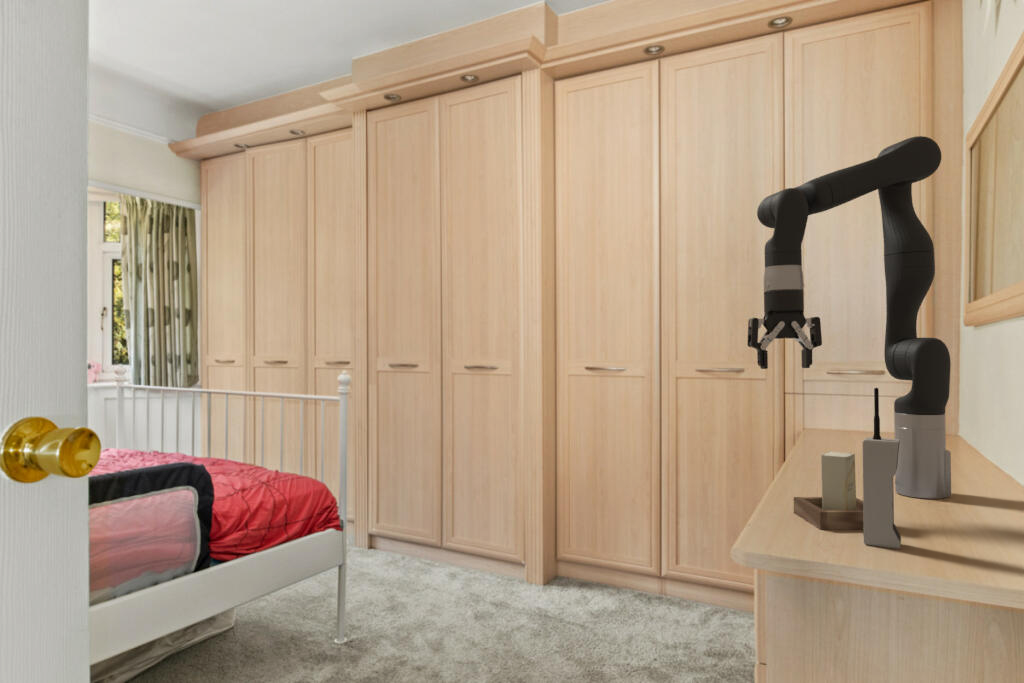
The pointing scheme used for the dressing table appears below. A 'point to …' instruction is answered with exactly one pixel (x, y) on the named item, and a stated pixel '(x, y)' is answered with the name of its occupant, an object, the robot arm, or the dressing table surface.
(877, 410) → the vintage mobile phone
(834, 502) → the skincare box
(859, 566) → the dressing table surface
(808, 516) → the walnut holder
